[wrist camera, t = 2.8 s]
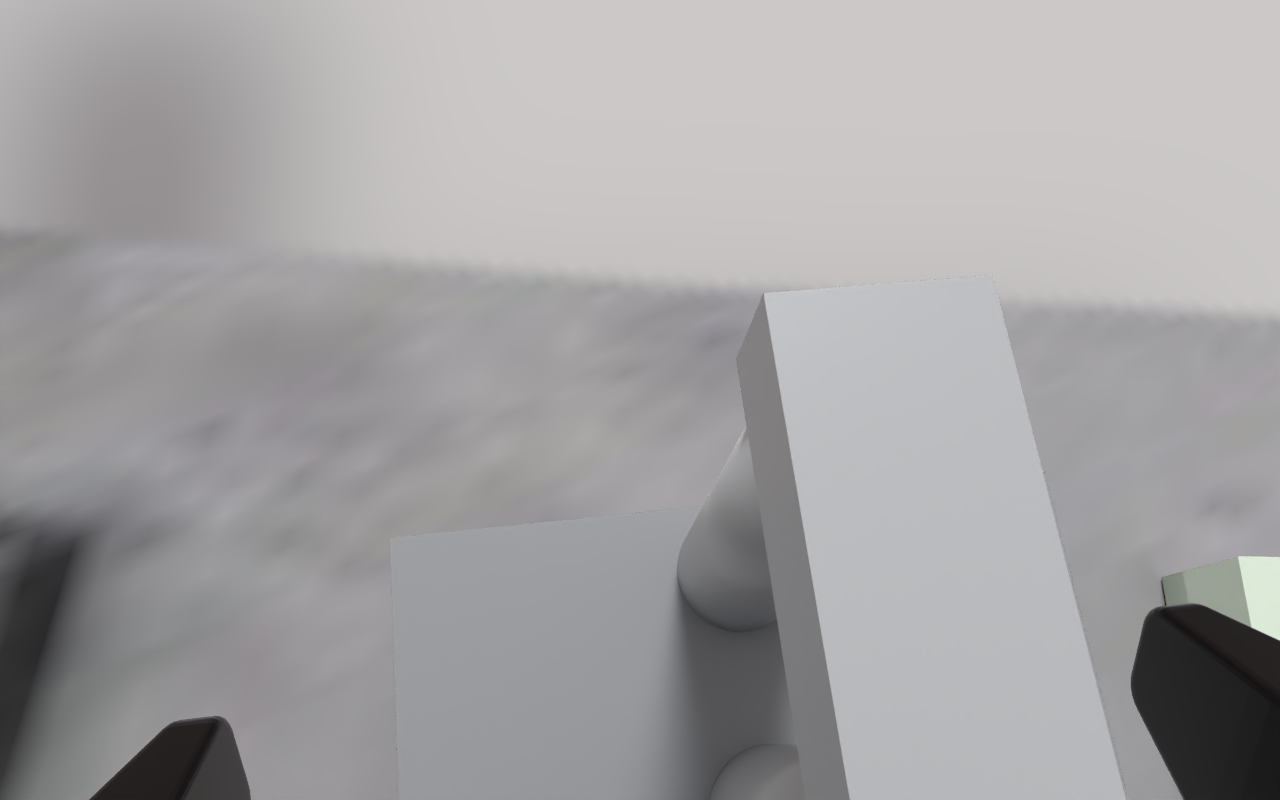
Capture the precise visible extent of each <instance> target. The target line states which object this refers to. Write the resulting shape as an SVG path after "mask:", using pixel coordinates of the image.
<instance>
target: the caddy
mask: <svg viewBox="0 0 1280 800" xmlns="http://www.w3.org/2000/svg"><path fill="white" fill-rule="evenodd" d="M736 361H737V368H738V374H739V380H740V387H741V393H742V399H743V406H744V412H745V419H746V427H745V429H744V431H743V432H742V434H741V436H740V438H739V440H738V442H737V444H736V445H735V447H734V449H733V451H732V453H731V455H730V457H729V458H728V460H727V462H726V464H725V466H724V468H723V470H722V471H721V473H720V475H719V477H718V479H717V481H716V483H715V484H714V486H713V488H712V490H711V492H710V494H709V496H708V497H707V499H706V501H705V503H704V505H703V506H698V507H689V508H679V509H669V510H659V511H649V512H639V513H629V514H619V515H609V516H599V517H589V518H579V519H569V520H559V521H550V522H540V523H530V524H520V525H510V526H500V527H490V528H480V529H470V530H460V531H450V532H440V533H430V534H420V535H411V536H401V537H391V538H390V561H391V590H392V619H393V648H394V677H395V707H396V736H397V765H398V794H399V800H1128V796H1127V792H1126V788H1125V784H1124V780H1123V776H1122V772H1121V768H1120V764H1119V761H1118V757H1117V753H1116V749H1115V745H1114V741H1113V737H1112V733H1111V729H1110V725H1109V721H1108V717H1107V713H1106V709H1105V706H1104V702H1103V698H1102V694H1101V690H1100V686H1099V682H1098V678H1097V674H1096V670H1095V666H1094V662H1093V658H1092V654H1091V651H1090V647H1089V643H1088V639H1087V635H1086V631H1085V627H1084V623H1083V619H1082V615H1081V611H1080V607H1079V603H1078V599H1077V596H1076V592H1075V588H1074V584H1073V580H1072V576H1071V572H1070V568H1069V564H1068V560H1067V556H1066V552H1065V548H1064V544H1063V541H1062V537H1061V533H1060V529H1059V525H1058V521H1057V517H1056V513H1055V509H1054V505H1053V501H1052V497H1051V493H1050V489H1049V486H1048V482H1047V478H1046V474H1045V472H1043V471H1042V467H1041V463H1040V459H1039V455H1038V451H1037V447H1036V444H1035V440H1034V436H1033V432H1032V428H1031V424H1030V420H1029V416H1028V412H1027V408H1026V404H1025V400H1024V396H1023V392H1022V388H1021V384H1020V381H1019V377H1018V373H1017V369H1016V365H1015V361H1014V357H1013V353H1012V349H1011V345H1010V341H1009V337H1008V333H1007V329H1006V325H1005V321H1004V317H1003V314H1002V310H1001V306H1000V302H999V298H998V294H997V290H996V286H995V282H994V279H993V275H984V276H972V277H959V278H947V279H934V280H922V281H909V282H897V283H884V284H872V285H860V286H847V287H835V288H822V289H810V290H797V291H785V292H773V293H763V296H762V298H761V300H760V303H759V305H758V308H757V310H756V312H755V315H754V317H753V320H752V322H751V324H750V327H749V329H748V331H747V334H746V336H745V339H744V341H743V343H742V346H741V348H740V351H739V353H738V355H737V358H736Z"/></svg>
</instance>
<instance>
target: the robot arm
mask: <svg viewBox="0 0 1280 800" xmlns="http://www.w3.org/2000/svg"><path fill="white" fill-rule="evenodd" d="M1131 691H1132V696H1133V699H1134V702H1135V705H1136V707H1137V709H1138V711H1139V713H1140V715H1141V717H1142V719H1143V721H1144V723H1145V725H1146V727H1147V729H1148V731H1149V733H1150V735H1151V737H1152V739H1153V741H1154V743H1155V745H1156V746H1157V748H1158V750H1159V752H1160V754H1161V756H1162V758H1163V760H1164V762H1165V764H1166V766H1167V768H1168V770H1169V772H1170V774H1171V776H1172V778H1173V780H1174V782H1175V784H1176V786H1177V787H1178V789H1179V791H1180V793H1181V795H1182V797H1183V799H1184V800H1280V640H1278V639H1275V638H1273V637H1271V636H1269V635H1267V634H1265V633H1262V632H1260V631H1258V630H1256V629H1254V628H1252V627H1249V626H1247V625H1245V624H1243V623H1241V622H1239V621H1237V620H1234V619H1232V618H1230V617H1228V616H1226V615H1224V614H1221V613H1219V612H1217V611H1215V610H1213V609H1211V608H1208V607H1206V606H1204V605H1201V604H1196V603H1187V604H1179V605H1170V606H1161V607H1157V608H1155V609H1152V610H1151V611H1150V612H1149V613H1148V615H1147V616H1146V618H1145V620H1144V624H1143V628H1142V632H1141V636H1140V641H1139V645H1138V649H1137V653H1136V657H1135V662H1134V666H1133V670H1132V674H1131ZM90 800H251V796H250V789H249V785H248V781H247V778H246V774H245V771H244V768H243V764H242V761H241V758H240V754H239V751H238V748H237V744H236V741H235V738H234V734H233V731H232V728H231V726H230V724H229V723H228V721H227V720H226V719H224V718H223V717H220V716H212V717H203V718H194V719H186V720H179V721H176V722H173V723H171V724H169V725H168V726H167V727H165V728H164V729H163V730H162V731H161V732H160V733H159V734H158V735H157V736H156V737H155V738H154V739H153V740H151V741H150V742H149V743H148V744H147V745H146V746H145V747H144V748H143V749H142V750H141V751H140V752H139V753H138V754H137V755H136V756H135V757H134V758H133V759H132V760H130V761H129V762H128V763H127V764H126V765H125V766H124V767H123V768H122V769H121V770H120V771H119V772H118V773H117V774H116V775H115V776H114V777H113V778H112V779H111V780H109V781H108V782H107V783H106V784H105V785H104V786H103V787H102V788H101V789H100V790H99V791H98V792H97V793H96V794H95V795H94V796H93V797H92V798H91V799H90Z"/></svg>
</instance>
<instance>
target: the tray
mask: <svg viewBox="0 0 1280 800" xmlns="http://www.w3.org/2000/svg"><path fill="white" fill-rule="evenodd" d="M1162 581H1163V587H1164V593H1165V599H1166V605H1167V606H1170V605H1179V604H1187V603H1196V604H1201V605H1204V606H1206V607H1208V608H1211V609H1213V610H1215V611H1217V612H1219V613H1221V614H1224V615H1226V616H1228V617H1230V618H1232V619H1234V620H1237V621H1239V622H1241V623H1243V624H1245V625H1247V626H1249V627H1252V628H1254V629H1256V630H1258V631H1260V632H1262V633H1265V634H1267V635H1269V636H1271V637H1273V638H1275V639H1278V640H1280V557H1242V556H1238V557H1234V558H1230V559H1227V560H1223V561H1220V562H1216V563H1212V564H1209V565H1205V566H1201V567H1198V568H1194V569H1191V570H1187V571H1183V572H1180V573H1176V574H1172V575H1169V576H1165V577H1162Z"/></svg>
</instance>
